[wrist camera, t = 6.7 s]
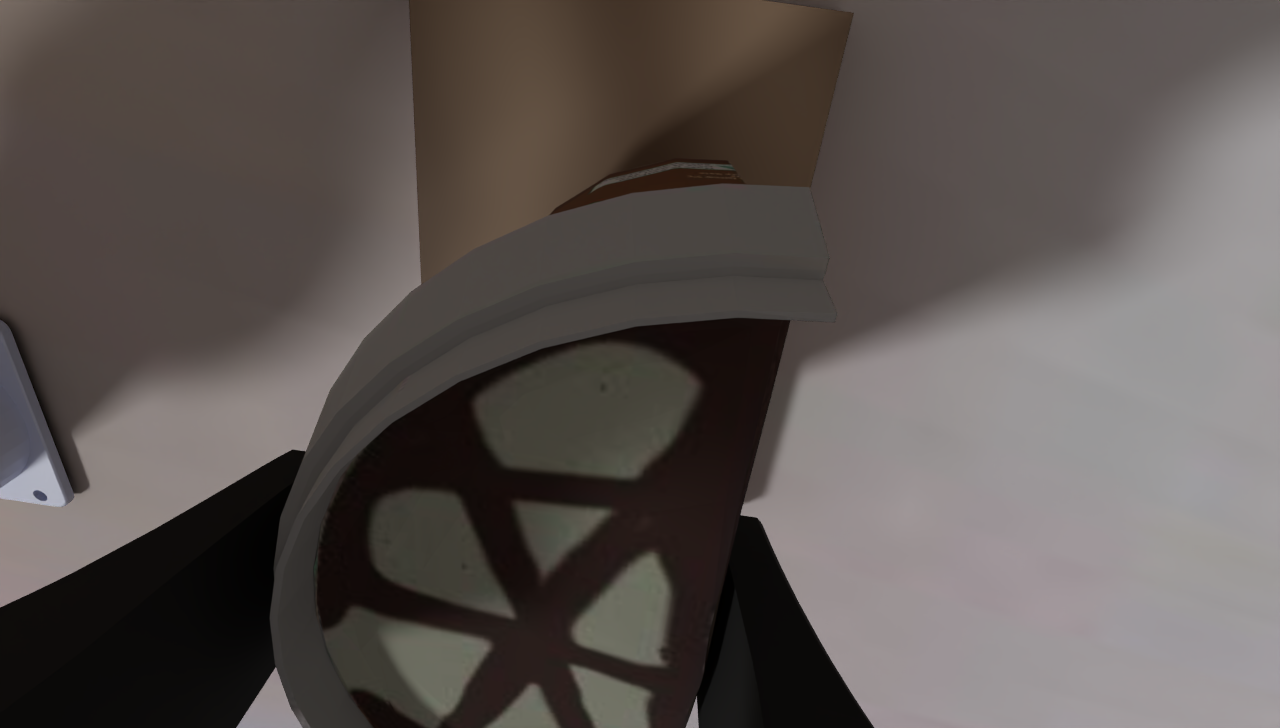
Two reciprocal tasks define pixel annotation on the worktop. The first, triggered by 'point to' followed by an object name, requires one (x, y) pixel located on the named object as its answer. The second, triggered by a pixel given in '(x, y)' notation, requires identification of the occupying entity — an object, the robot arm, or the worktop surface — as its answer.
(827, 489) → the worktop surface
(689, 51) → the walnut base
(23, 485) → the robot arm
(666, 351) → the food container
